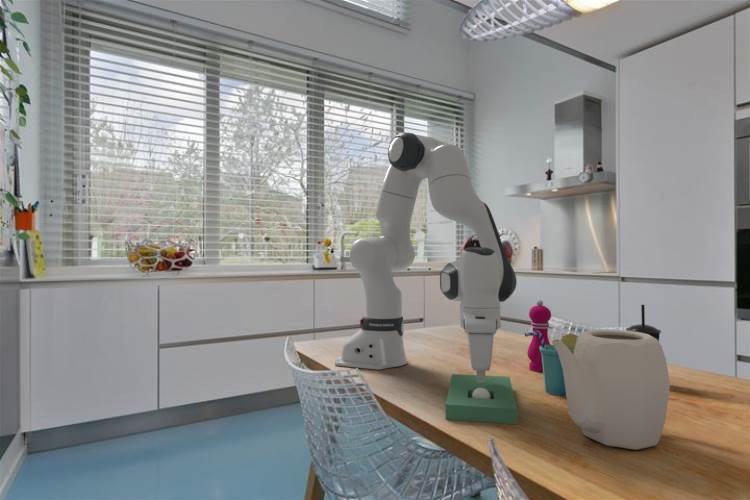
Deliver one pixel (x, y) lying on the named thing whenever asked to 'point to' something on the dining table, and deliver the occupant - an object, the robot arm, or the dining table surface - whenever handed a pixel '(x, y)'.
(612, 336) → the watering can
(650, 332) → the drinking cup
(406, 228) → the robot arm
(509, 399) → the putting mat
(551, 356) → the cup
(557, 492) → the dining table surface
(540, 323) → the pepper mill
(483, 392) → the ball
